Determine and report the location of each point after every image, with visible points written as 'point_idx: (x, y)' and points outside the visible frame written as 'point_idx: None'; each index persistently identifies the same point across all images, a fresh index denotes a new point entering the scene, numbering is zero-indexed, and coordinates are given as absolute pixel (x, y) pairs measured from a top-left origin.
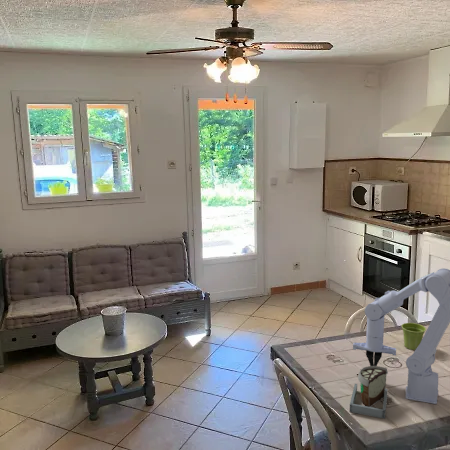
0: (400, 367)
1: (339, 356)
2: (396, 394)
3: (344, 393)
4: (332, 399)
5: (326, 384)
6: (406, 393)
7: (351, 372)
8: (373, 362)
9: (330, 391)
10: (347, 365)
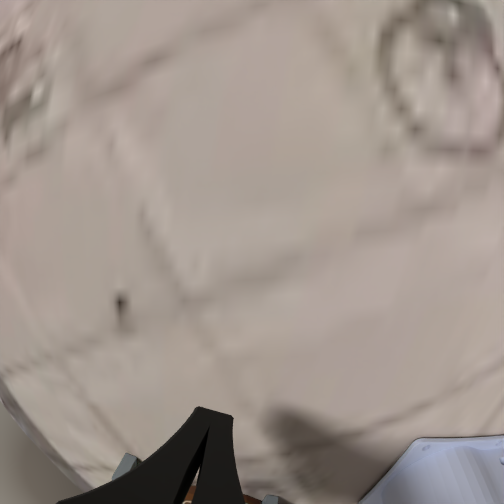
0: (498, 158)
1: (43, 40)
2: (330, 486)
3: (93, 458)
4: (70, 470)
5: (19, 389)
6: (377, 491)
7: (84, 278)
8: (196, 450)
9: (48, 434)
10: (62, 165)
